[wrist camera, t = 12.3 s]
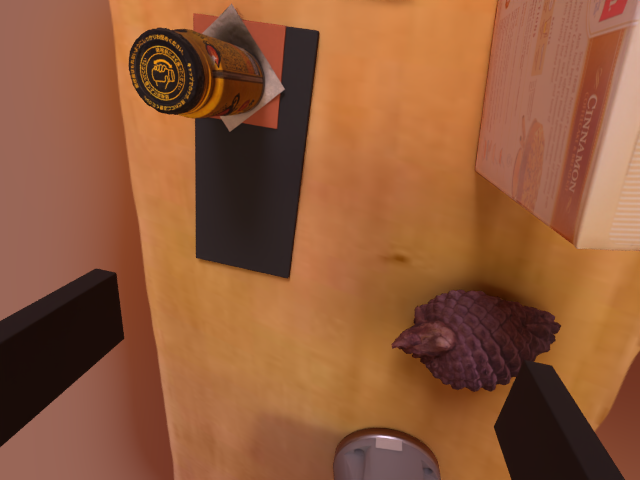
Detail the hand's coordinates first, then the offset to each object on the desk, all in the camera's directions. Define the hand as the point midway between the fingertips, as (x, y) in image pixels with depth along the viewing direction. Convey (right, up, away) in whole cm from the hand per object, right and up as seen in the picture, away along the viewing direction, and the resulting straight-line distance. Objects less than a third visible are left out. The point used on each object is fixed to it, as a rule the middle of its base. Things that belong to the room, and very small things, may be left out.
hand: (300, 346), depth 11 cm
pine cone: (+17, -5, +28) cm, 34 cm away
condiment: (-8, +20, +22) cm, 31 cm away
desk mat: (-7, +12, +26) cm, 29 cm away
